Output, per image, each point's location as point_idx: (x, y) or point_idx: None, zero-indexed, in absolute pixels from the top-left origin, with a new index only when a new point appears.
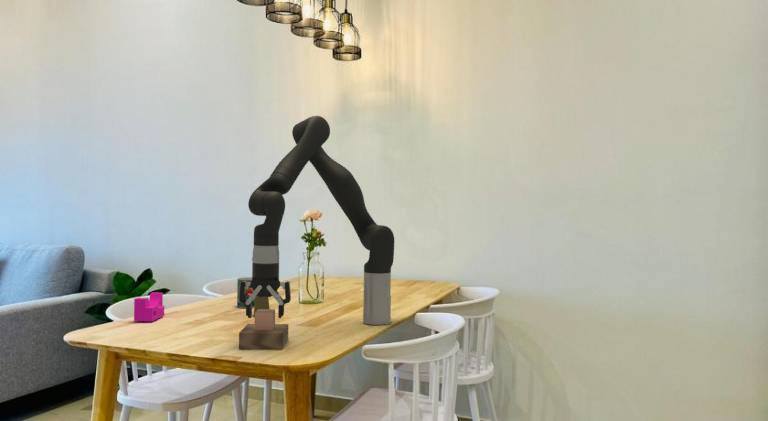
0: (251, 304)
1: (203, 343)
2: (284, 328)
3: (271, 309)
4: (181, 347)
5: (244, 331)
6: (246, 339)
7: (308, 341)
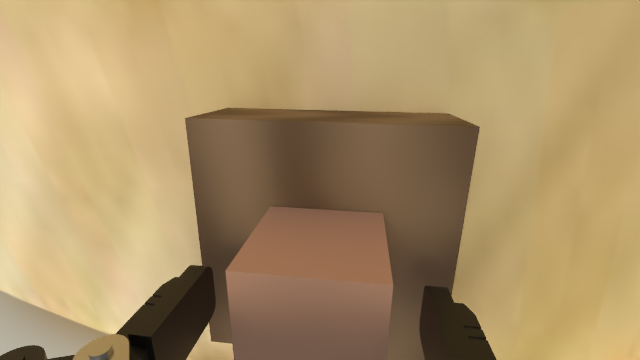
0: (153, 356)
1: (66, 186)
2: (447, 261)
3: (355, 288)
4: (22, 244)
5: (228, 317)
6: None
7: (566, 159)
